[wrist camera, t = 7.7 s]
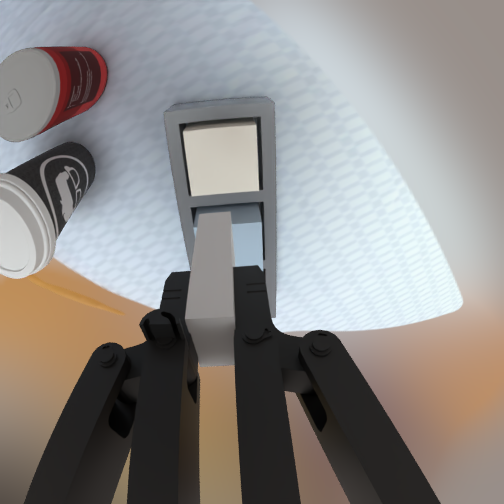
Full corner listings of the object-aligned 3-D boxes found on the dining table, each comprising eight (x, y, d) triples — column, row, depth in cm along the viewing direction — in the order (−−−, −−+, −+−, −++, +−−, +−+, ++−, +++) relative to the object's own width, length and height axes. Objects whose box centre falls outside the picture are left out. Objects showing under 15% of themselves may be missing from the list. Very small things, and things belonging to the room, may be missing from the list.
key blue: (197, 206, 29) (193, 227, 26) (257, 201, 29) (261, 222, 26) (204, 255, 33) (202, 279, 30) (259, 251, 33) (263, 274, 30)
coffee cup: (65, 113, 25) (-24, 160, 13) (123, 164, 30) (62, 240, 18) (29, 173, 28) (-44, 240, 16) (81, 218, 33) (26, 302, 21)
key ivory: (188, 122, 26) (182, 131, 23) (252, 117, 26) (256, 125, 23) (195, 179, 29) (191, 196, 26) (255, 174, 30) (259, 190, 26)
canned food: (38, 86, 23) (-26, 107, 14) (82, 32, 20) (22, 29, 11) (75, 128, 26) (20, 162, 18) (123, 76, 24) (74, 86, 15)
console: (173, 105, 27) (163, 112, 23) (267, 96, 27) (274, 102, 23) (204, 296, 42) (202, 322, 38) (271, 291, 42) (275, 317, 38)
